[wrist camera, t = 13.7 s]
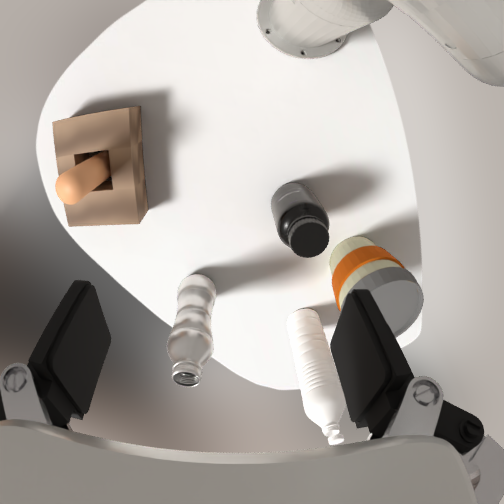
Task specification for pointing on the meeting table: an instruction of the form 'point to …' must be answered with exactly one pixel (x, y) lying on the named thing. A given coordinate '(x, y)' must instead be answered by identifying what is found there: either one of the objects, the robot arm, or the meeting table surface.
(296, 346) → the water bottle
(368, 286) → the reusable coffee cup
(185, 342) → the plastic bottle
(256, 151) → the meeting table surface
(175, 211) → the meeting table surface
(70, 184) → the peg
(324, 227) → the supplement bottle
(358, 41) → the meeting table surface
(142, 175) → the socket block
